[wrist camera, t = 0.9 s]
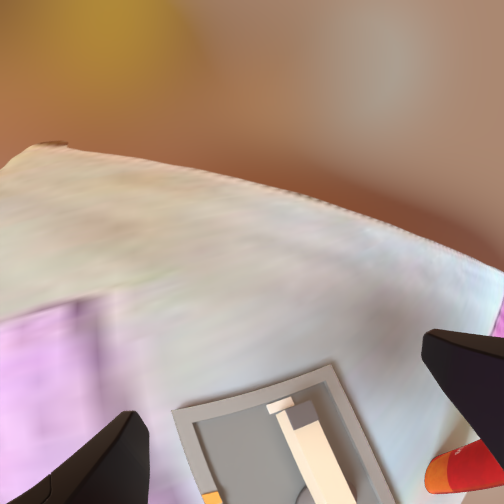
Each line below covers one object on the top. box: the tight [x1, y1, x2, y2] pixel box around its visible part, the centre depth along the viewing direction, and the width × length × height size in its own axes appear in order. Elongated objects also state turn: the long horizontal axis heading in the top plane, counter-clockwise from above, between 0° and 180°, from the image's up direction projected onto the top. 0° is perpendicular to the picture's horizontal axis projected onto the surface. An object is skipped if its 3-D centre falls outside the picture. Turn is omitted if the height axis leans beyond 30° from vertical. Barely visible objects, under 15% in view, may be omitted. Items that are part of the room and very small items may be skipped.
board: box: [171, 364, 396, 504], centre depth 18 cm, size 22×17×2 cm
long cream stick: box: [276, 400, 357, 504], centre depth 17 cm, size 14×6×4 cm, turn 20°
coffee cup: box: [425, 439, 504, 494], centre depth 13 cm, size 8×8×15 cm
